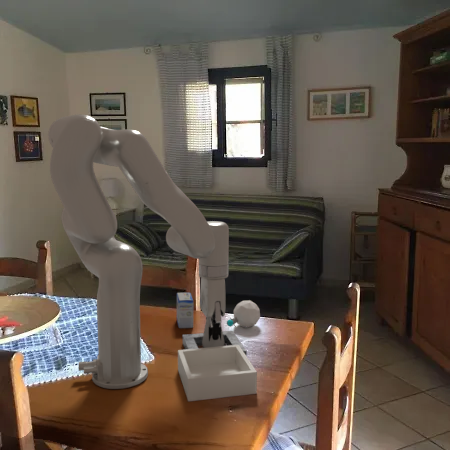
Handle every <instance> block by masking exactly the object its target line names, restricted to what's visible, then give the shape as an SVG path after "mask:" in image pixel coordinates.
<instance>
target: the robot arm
mask: <svg viewBox="0 0 450 450" xmlns="http://www.w3.org/2000/svg"><path fill="white" fill-rule="evenodd" d="M47 137H48V141H49V145H50V146H51V148H52V151H51V155H50V161H49V175H50V179H51V181H52V185H53V188H54V189H55V192H56V194H57V196H58V198H59V200H60V202H61V204H62V206H63V209H62V212H61V223H62V227H63V230H64V232H65V233H66V235H67V237H68V238H67V239H69V241H70V244H71V245H72V246H73V248H74V250H75V252H76V253H77V255H78V257H79V259H80V260H81V262H82V264H83V265H84V266H85V268H86V270H88V272H90V273H91V274H93V275H95V277H97V278H98V288H97V295H96V319H97V322H96V323H97V344H98V345H97V349H98V350H97V352H98V354H97V356H96V357H97V358H96V359H92V361H79V362H78V371H83V375H88V374H92V375H91V377H92V379H91V380H92V382H93V383H94V384H95V385H96V386H98V387H101V388H102V389H103V388H104V389H108V390H109V389H110V390H120V389H121V390H122V389H127V388H132V387H134V386H138V385H139V384H141V383H143V382H144V381H145V380H146V379H147V378H148V375H149V370H148V369H149V368H148V367H147V366H146V365H145V364H144V363H142V357H141V356H142V351H141V348H142V347H141V346H142V345H141V310H140V309H141V308H140V305H141V302H140V299H141V298H140V296H141V295H140V294H141V284H142V277H143V269H144V268H143V262H142V258H141V256H140V254H139V253H138V251H137V250H136V249H135V248H134V247H133V246H131V245H130V244H127V243H125V242H122V241H120V240H117V239H116V237H115V235H116V233H117V230H118V220H117V216H116V214H115V212H114V210H113V209H112V207H111V205H110V202H109V200H108V199H107V197H106V195H105V194H104V192H103V191H104V190H102V188H101V185H100V184H99V181H98V178H97V176H96V174H95V170H94V164H99V165H105V166H110V167H118V168H119V169H120V171H121V173H122V174H123V177H125V179H126V180H127V181H128V182H129V185H130V186H131V188H132V189H133V190H134V192H135V193H136V195H137V196H138V198H139V200H140V201H141V202H142V204H144V205H145V207H147V208H148V209H149V210H150V211H152V212H154V213H155V214H157V215H158V216H160V217H161V218H163V219H164V220H165V221H166V222H167V223H168V224H169V225H170V227H169V228H168V230H166V231H167V232H166V234H165V240H166V241H165V242H166V244H167V245H168V247H169V248H170V249H171V250H173V251H174V252H177V253H180V254H182V255H186V256H188V257H190V258H193V259H197V260H198V277H200V290H199V292H200V294H199V295H200V296H199V297H200V298H199V307H200V310H201V311H202V312H201V313H203V315H204V317H205V319H206V318H209V317H210V327H209V341H210V338H211V335H212V338H213V340H218V339H219V336H220V340H221V327H222V317H225V315H226V281H225V280H226V279H227V278H228V277H229V248H230V247H229V246H230V245H229V244H230V243H229V242H230V241H229V240H230V239H229V237H230V236H229V235H230V231H229V230H230V228H229V225H228V224H227V223H226V222H224V221H217V220H216V221H215V220H214V221H213V220H212V221H211V220H210V221H207V220H206V218H205V216H204V214H203V213H202V212H201V210H200V209H199V208H198V207H197V206H196V204H195V203H194V202H193V201H192V200H191V199H190V197H188V196H187V195H186V194H185V193H184V191H182V190H181V188H180V187H178V186H177V185H176V183H174V181H173V180H172V178H171V177H170V175H169V173H168V171H167V170H166V169H165V167H164V165H163V164H162V162H161V160H160V159H159V157H158V155H157V153H156V152H155V150H154V149H153V147H152V146H151V144H150V142H149V140H148V139H147V138H146V136H145V135H144V134H143V133H141V132H140V131H138V130H134V129H129V128H128V129H113V128H107V127H104V126H101V125H100V123H99V122H98V121H97V120H96V118H93V117H92V116H90V115H87V114H78V113H77V114H72V115H66V116H61V117H60V118H57V119H56V120H55V121H53V122H52V124H51V125H50V127H49V129H48V134H47ZM221 310H222V311H221ZM214 313H215V315H213V314H214ZM213 318H215V320H213Z"/></svg>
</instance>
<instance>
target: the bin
mask: <svg viewBox="0 0 450 450" xmlns="http://www.w3.org/2000/svg"><path fill="white" fill-rule="evenodd" d="M177 370H178V374H179V377H180V380H181V383H182V385H183V390H184V394H185V395H186V399H187V402H195V401H196V402H197V401H203V400H211V399H213V400H214V399H221V398H231V397H238V396H239V397H240V396H247V395H255V394H256V395H257V391H258V390H257V385H258V371H257V370H256V368H255V367H254V365H253V364H252V363H251V361H250V359H249V358H248V356H246V355H245V353H244V352H243V350H242V349H241V347H240V346H239V345H230V346H227V345H224V346H219V347H208V348H204V347H198V348H197V349H186V350H185V349H178V350H177Z"/></svg>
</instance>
